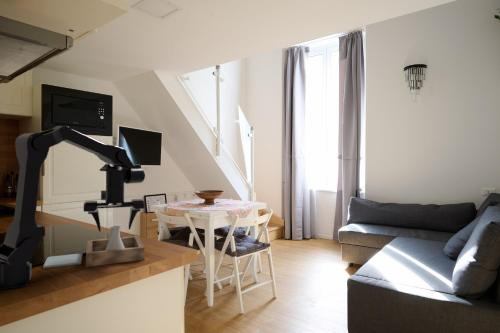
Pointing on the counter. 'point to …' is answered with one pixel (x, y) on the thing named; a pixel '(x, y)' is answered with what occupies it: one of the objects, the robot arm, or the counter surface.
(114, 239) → the flask
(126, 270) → the counter surface
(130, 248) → the walnut box
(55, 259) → the pale grey flat slab
